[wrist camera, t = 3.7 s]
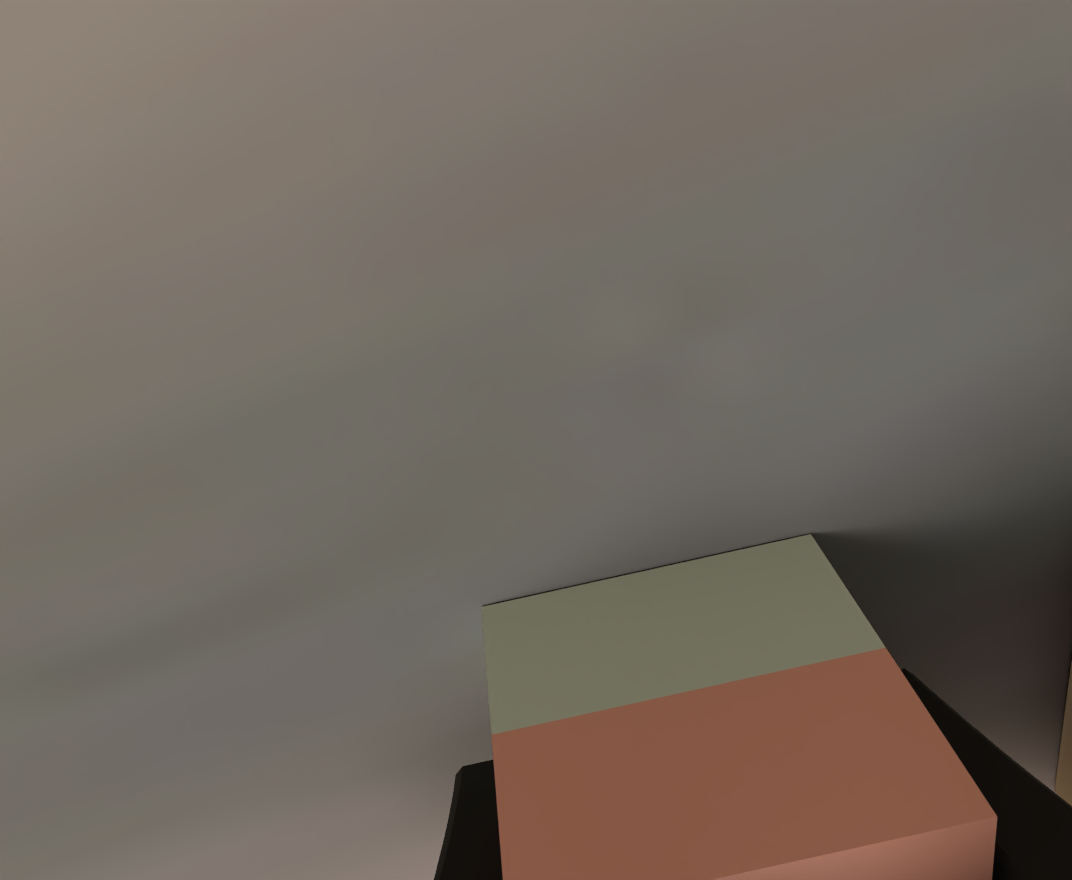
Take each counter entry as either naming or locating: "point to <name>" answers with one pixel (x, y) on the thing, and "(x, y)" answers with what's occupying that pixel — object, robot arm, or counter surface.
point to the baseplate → (1066, 752)
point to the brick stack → (719, 733)
